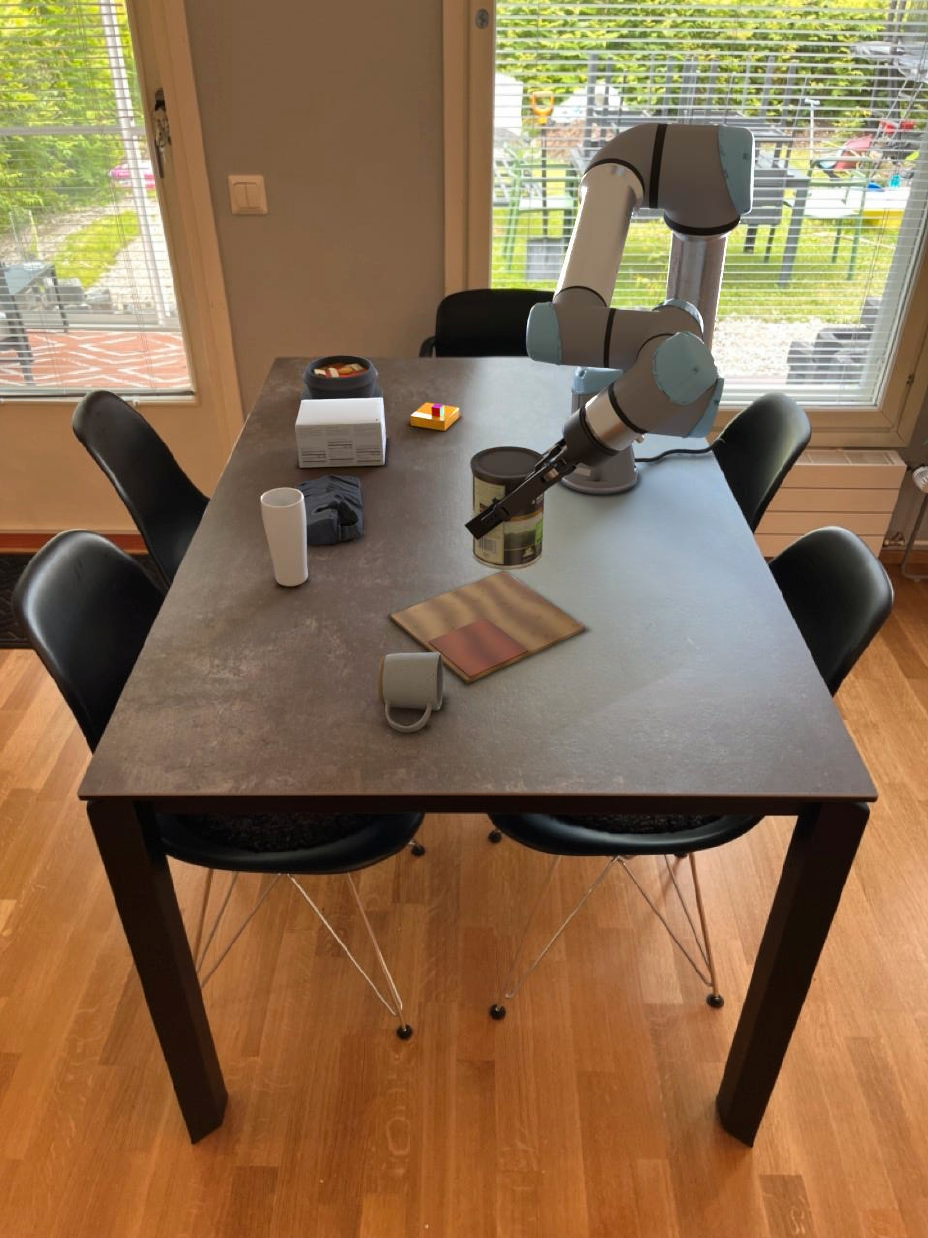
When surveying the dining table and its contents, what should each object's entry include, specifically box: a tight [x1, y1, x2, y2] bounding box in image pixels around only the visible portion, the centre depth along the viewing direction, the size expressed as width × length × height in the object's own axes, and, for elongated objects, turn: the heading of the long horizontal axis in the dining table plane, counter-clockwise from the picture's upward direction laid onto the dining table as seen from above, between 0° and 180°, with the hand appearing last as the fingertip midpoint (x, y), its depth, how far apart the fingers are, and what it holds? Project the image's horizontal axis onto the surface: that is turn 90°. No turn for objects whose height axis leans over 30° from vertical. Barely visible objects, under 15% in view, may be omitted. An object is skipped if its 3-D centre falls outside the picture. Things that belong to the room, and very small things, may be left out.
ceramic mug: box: [377, 651, 444, 734], centre depth 129 cm, size 11×8×8 cm
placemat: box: [390, 570, 586, 684], centre depth 147 cm, size 22×20×1 cm
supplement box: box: [294, 397, 387, 468], centre depth 195 cm, size 17×13×9 cm
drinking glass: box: [259, 487, 309, 587], centre depth 154 cm, size 7×7×15 cm
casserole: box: [299, 354, 384, 401], centre depth 217 cm, size 25×19×8 cm
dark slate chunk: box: [293, 473, 364, 546], centre depth 175 cm, size 15×22×5 cm
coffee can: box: [469, 445, 546, 571], centre depth 134 cm, size 10×10×14 cm
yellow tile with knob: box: [410, 402, 460, 432], centre depth 209 cm, size 8×8×4 cm
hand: (487, 514), depth 136 cm, fingers closed on coffee can, 10 cm apart
